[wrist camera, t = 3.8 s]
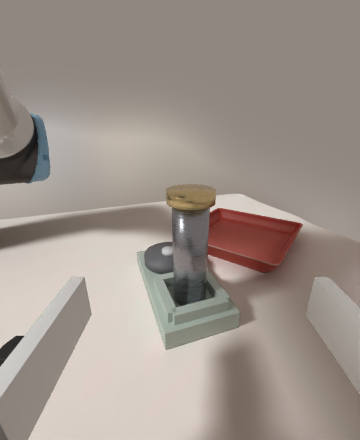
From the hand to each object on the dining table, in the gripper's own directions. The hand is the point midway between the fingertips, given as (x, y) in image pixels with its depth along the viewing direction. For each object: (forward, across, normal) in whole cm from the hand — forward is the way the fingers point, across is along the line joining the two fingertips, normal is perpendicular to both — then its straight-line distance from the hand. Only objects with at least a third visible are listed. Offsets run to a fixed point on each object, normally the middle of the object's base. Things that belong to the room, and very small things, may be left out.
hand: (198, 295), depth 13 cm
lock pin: (+10, 0, -8) cm, 13 cm away
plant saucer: (+27, +10, -11) cm, 31 cm away
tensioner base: (+14, -2, -10) cm, 17 cm away
